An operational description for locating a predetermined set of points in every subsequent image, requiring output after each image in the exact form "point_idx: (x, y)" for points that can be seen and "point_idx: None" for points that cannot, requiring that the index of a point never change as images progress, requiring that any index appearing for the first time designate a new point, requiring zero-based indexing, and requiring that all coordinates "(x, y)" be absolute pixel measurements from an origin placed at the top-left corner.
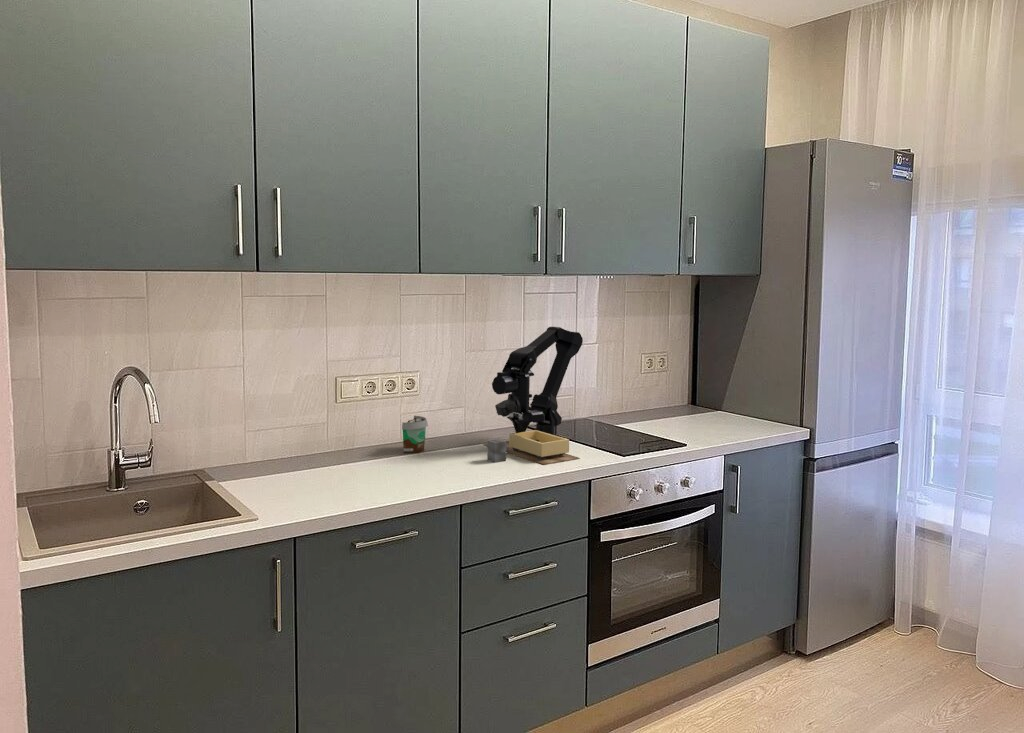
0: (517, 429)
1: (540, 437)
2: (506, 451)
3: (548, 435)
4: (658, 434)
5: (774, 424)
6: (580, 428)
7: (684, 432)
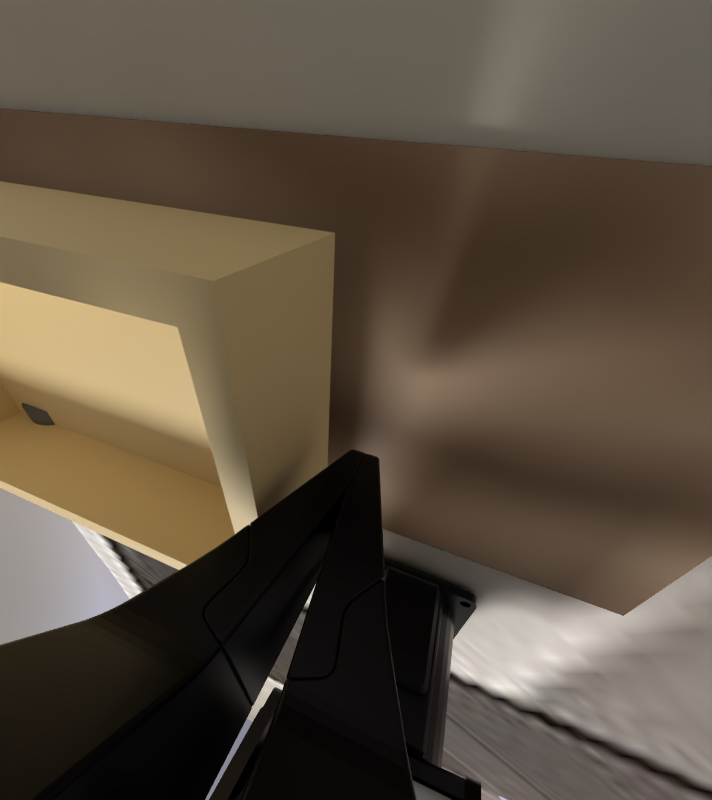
0: (326, 558)
1: (216, 520)
2: (327, 139)
3: (98, 514)
4: (274, 684)
5: (250, 718)
6: (471, 747)
7: (265, 694)
